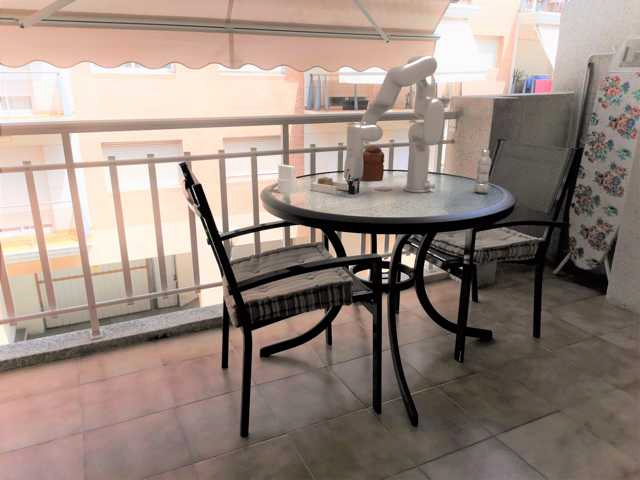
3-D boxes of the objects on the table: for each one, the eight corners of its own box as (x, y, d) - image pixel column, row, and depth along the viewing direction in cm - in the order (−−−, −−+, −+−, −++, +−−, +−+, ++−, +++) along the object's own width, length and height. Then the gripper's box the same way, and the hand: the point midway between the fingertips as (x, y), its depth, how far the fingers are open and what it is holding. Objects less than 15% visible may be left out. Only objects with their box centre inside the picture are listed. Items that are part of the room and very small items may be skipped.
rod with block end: (359, 192, 218) (359, 180, 217) (353, 194, 214) (354, 182, 213) (323, 187, 229) (323, 175, 227) (317, 189, 225) (317, 177, 223)
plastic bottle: (488, 192, 224) (493, 149, 217) (486, 195, 218) (492, 151, 212) (474, 190, 226) (479, 148, 220) (472, 193, 220) (477, 150, 214)
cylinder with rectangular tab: (300, 191, 223) (300, 165, 219) (286, 194, 217) (286, 168, 213) (287, 188, 229) (287, 163, 225) (273, 191, 222) (273, 165, 219)
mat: (364, 192, 221) (364, 192, 221) (351, 197, 211) (351, 196, 211) (349, 190, 225) (349, 189, 225) (335, 195, 216) (335, 194, 216)
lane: (347, 190, 225) (347, 183, 224) (335, 194, 217) (336, 186, 216) (322, 186, 232) (323, 179, 231) (311, 190, 224) (311, 183, 223)
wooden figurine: (380, 178, 253) (381, 144, 247) (383, 181, 247) (385, 146, 241) (358, 179, 251) (359, 145, 245) (362, 181, 245) (363, 146, 239)
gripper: (357, 150, 220) (355, 189, 226) (337, 154, 207) (337, 195, 213) (371, 151, 216) (369, 191, 222) (352, 155, 203) (351, 197, 209)
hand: (353, 192), depth 217 cm, fingers closed on rod with block end, 3 cm apart
